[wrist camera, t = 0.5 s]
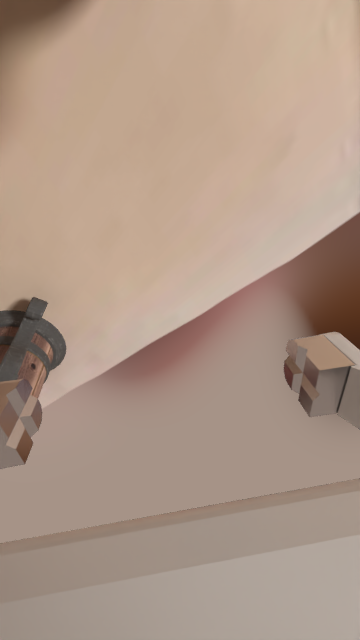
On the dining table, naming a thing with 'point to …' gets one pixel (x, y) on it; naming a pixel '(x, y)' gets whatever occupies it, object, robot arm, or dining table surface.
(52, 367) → the tankard
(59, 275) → the dining table surface
